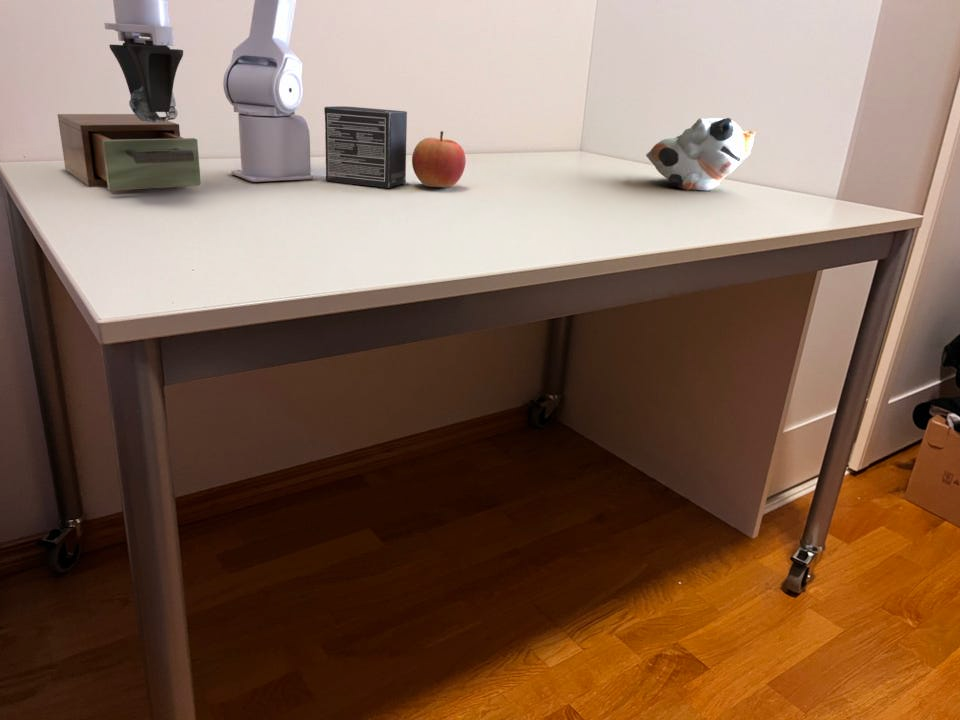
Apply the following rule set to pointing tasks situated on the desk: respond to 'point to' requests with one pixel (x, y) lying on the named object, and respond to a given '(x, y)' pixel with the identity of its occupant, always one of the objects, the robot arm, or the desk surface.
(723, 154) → the lucky cat figurine
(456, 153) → the apple
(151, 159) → the drawer
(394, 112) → the small box
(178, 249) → the desk surface
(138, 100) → the wristwatch
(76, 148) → the cabinet
